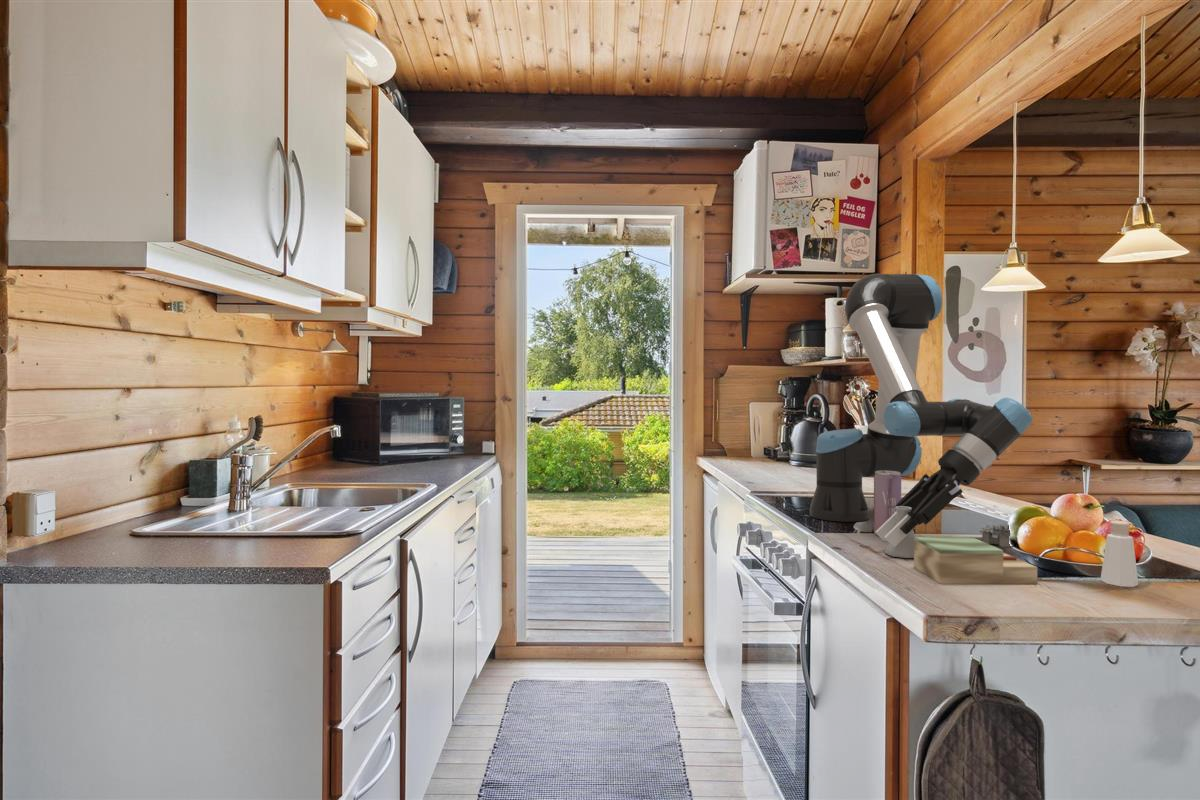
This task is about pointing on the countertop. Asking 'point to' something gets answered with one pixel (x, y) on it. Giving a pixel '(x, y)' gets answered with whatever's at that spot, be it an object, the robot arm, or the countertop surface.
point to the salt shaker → (1119, 557)
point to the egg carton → (996, 535)
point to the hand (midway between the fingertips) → (884, 539)
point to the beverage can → (885, 496)
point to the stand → (969, 562)
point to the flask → (907, 544)
